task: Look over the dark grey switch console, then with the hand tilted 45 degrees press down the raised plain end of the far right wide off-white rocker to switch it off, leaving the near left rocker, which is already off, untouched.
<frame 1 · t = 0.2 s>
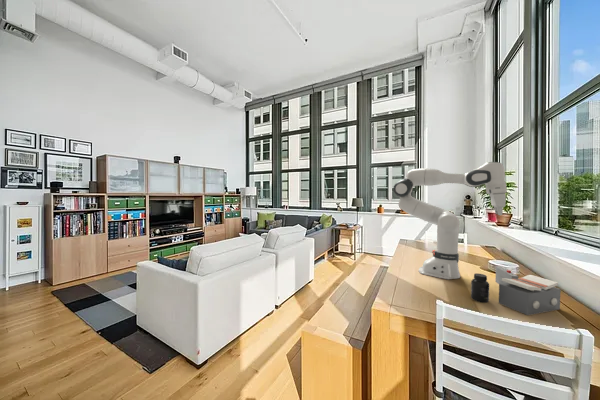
hand: (498, 214, 130), 39 cm above the table, tool pointing down, fingers open, 8 cm apart
supplement bottle: (479, 300, 110), on the table
switch console: (528, 306, 104), on the table
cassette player: (505, 287, 125), on the table
right rocker: (537, 282, 105), point 10 cm above the table, hinge at -10.0°
left rocker: (520, 284, 102), point 10 cm above the table, hinge at 10.0°
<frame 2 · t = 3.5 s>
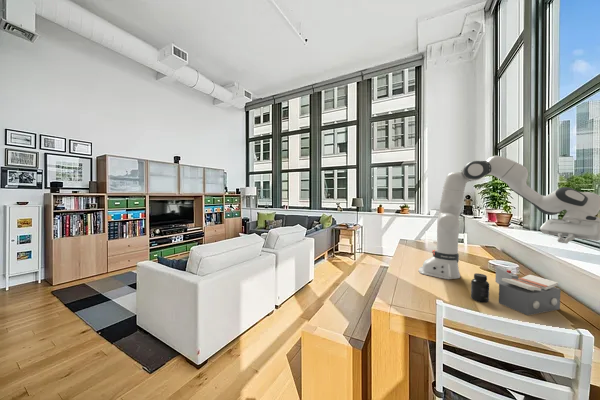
hand: (562, 242, 108), 28 cm above the table, tool tilted 45°, fingers closed
nothing on the table moved.
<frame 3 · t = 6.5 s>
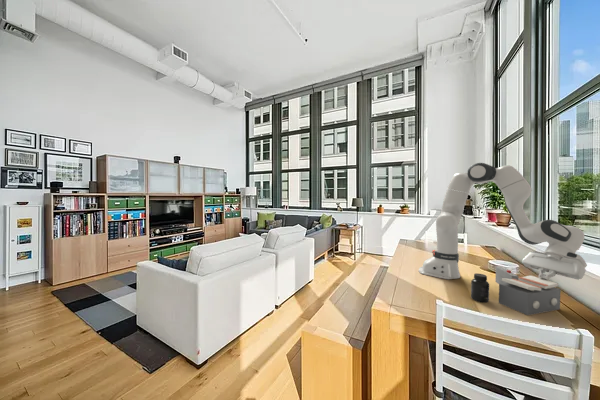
hand: (542, 278, 105), 12 cm above the table, tool tilted 45°, fingers closed, pressing on right rocker
right rocker: (537, 282, 105), point 10 cm above the table, hinge at -3.4°, touching gripper
everything else where it was.
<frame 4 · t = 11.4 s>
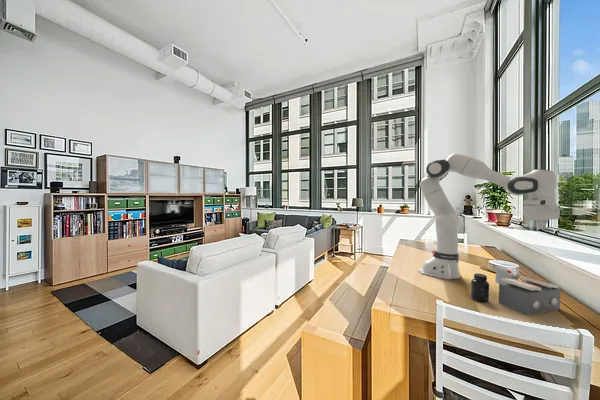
hand: (541, 228, 117), 33 cm above the table, tool pointing down, fingers closed
right rocker: (538, 282, 105), point 10 cm above the table, hinge at 14.4°, touching switch console
everything else where it was.
at the end: right rocker at +14° (first picture: -10°); left rocker at +10° (first picture: +10°) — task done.
